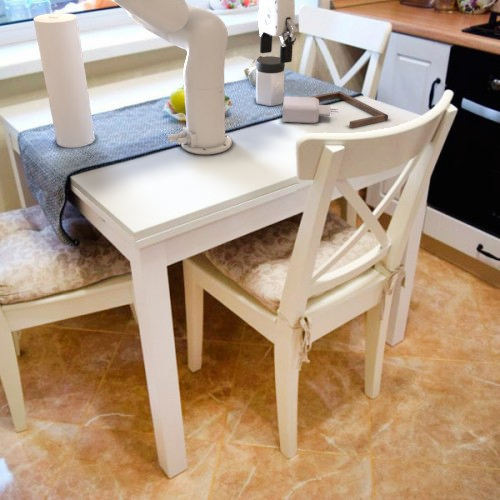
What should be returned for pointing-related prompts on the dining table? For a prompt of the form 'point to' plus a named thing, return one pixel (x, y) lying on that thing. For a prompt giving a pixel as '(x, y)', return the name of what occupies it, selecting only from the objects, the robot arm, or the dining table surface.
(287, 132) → the dining table surface
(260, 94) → the jar
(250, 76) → the ceramic sculpture
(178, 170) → the dining table surface
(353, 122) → the brown bent bar
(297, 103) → the charger
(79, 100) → the cylinder container
